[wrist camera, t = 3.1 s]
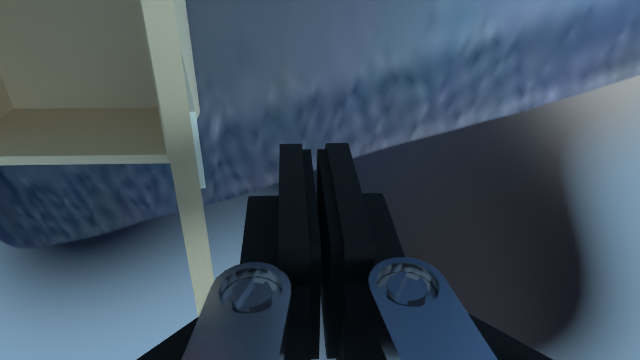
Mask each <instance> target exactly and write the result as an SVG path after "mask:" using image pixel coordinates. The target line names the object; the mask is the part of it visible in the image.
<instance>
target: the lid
mask: <svg viewBox="0 0 640 360" xmlns="http://www.w3.org/2000/svg"><path fill="white" fill-rule="evenodd" d="M141 4H142V10H143V15H144V21H145V26H146V32H147V37H148V43H149V48H150V54H151V59H152V65H153V70H154V76H155V81H156V87H157V92H158V98H159V103H160V109H161V114H162V120H163V125H164V131H165V136H166V142H167V147H168V153H169V158H170V164H171V169H172V175H173V180H174V186H175V191H176V197H177V202H178V208H179V213H180V219H181V224H182V229H183V235H184V241H185V246H186V252H187V257H188V263H189V268H190V274H191V279H192V284H193V290H194V296H195V301H196V306H197V312H198V317H199V315H200V313H201V310H202V308H203V305H204V303H205V300H206V298H207V295H208V293H209V290H210V288H211V286H212V284H213V283H214V277H213V270H212V263H211V256H210V249H209V242H208V236H207V229H206V222H205V215H204V208H203V201H202V195H201V188H206V185H205V178H204V171H203V163H202V156H201V149H200V142H199V135H198V127H197V120H196V113H195V108H194V104H193V100H192V95H191V91H190V87H189V82H188V78H187V74H186V70H185V65H184V61H183V57H182V52H181V48H180V44H179V37H178V30H177V24H176V17H175V10H174V3H173V0H141Z"/></svg>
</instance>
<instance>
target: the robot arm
mask: <svg viewBox="0 0 640 360" xmlns="http://www.w3.org/2000/svg"><path fill="white" fill-rule="evenodd" d="M316 196H317V197H316ZM320 296H321V304H322V314H323V326H324V336H325V347H326V356H327V359H332V358H336V360H552V359H551V358H549V357H547V356H545V355H543V354H541V353H539V352H538V351H536V350H534V349H532V348H530V347H528V346H527V345H525V344H523V343H521V342H520V341H518V340H516V339H514V338H512V337H510V336H508V335H507V334H505V333H503V332H501V331H500V330H498V329H496V328H494V327H492V326H490V325H488V324H487V323H485V322H483V321H481V320H479V319H477V318H476V317H474V316H472V315H470V314H469V313H467V312H466V310H465V309H464V307H463V306H462V304H461V303H460V301H459V299H458V298H457V296H456V295H455V293H454V292H453V290H452V289H451V287H450V285H449V284H448V282H447V281H446V279H445V278H444V277H443V276H442V274H441V273H440V272H439V271H438V270H437V269H435V268H434V267H432V266H431V265H429V264H428V263H425V262H423V261H420V260H417V259H412V258H407V257H405V256H404V253H403V250H402V248H401V245H400V242H399V239H398V236H397V233H396V231H395V228H394V224H393V221H392V219H391V216H390V213H389V210H388V207H387V204H386V201H385V198H384V196H383V194H382V193H367V194H365V193H364V194H362V192H361V188H360V185H359V181H358V177H357V174H356V170H355V166H354V163H353V159H352V155H351V152H350V148H349V144H348V143H326V145H325V149H317V192H316V193H315V184H314V176H313V166H312V157H311V149H307V150H302V144H280V161H279V196H249V197H248V203H247V212H246V219H245V228H244V236H243V244H242V252H241V260H240V264H239V265H235V266H233V267H231V268H229V269H227V270H225V271H224V272H223V273H222V274H220V275H219V276H218V277H217V278H216V280H215V281H214V283H213V284H212V286H211V288H210V290H209V293H208V295H207V298H206V300H205V303H204V305H203V308H202V310H201V313H200V315H199V317H197V318H196V319H194V320H193V321H192V322H190V323H189V324H187V325H186V326H184V327H183V328H181V329H180V330H179V331H177V332H176V333H174V334H173V335H171V336H170V337H169V338H167V339H166V340H164V341H163V342H161V343H160V344H158V345H157V346H156V347H154V348H153V349H151V350H150V351H148V352H147V353H145V354H144V355H143V356H141V357H140V358H138V359H137V360H311V359H319V339H320Z"/></svg>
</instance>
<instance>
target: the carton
mask: <svg viewBox="0 0 640 360" xmlns="http://www.w3.org/2000/svg"><path fill="white" fill-rule="evenodd" d="M173 3H174V10H175V17H176V24H177V30H178V37H179V44H180V48H181V52H182V57H183V61H184V65H185V70H186V74H187V78H188V82H189V87H190V91H191V95H192V100H193V104H194V108H195V113H196V120H197V118H198V116H199V113H200V107H199V100H198V92H197V85H196V77H195V70H194V62H193V55H192V47H191V40H190V32H189V25H188V17H187V9H186V2H185V0H173ZM138 163H170V158H169V153H168V147H167V142H166V136H165V131H164V125H163V120H162V114H161V109H160V103H159V98H158V92H157V87H156V81H155V76H154V70H153V65H152V59H151V54H150V48H149V43H148V37H147V32H146V26H145V21H144V15H143V10H142V4H141V0H0V165H60V164H138Z"/></svg>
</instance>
